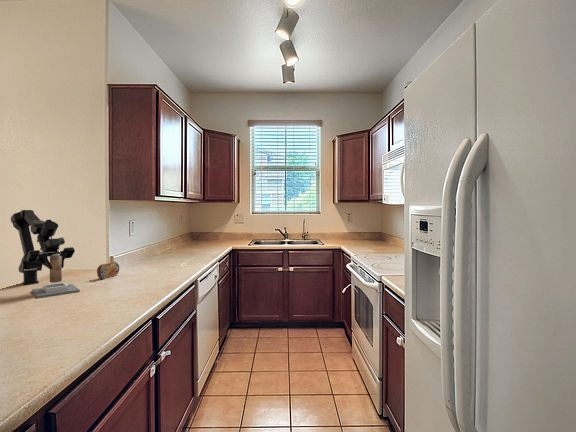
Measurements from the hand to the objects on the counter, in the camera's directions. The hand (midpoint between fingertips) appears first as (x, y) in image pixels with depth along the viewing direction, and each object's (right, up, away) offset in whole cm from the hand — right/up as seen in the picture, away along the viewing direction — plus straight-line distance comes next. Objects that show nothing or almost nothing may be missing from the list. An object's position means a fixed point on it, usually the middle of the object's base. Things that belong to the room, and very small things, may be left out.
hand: (57, 268), depth 154 cm
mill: (-1, -7, +1) cm, 7 cm away
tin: (+6, -11, +33) cm, 35 cm away
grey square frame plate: (-1, -11, +1) cm, 11 cm away
